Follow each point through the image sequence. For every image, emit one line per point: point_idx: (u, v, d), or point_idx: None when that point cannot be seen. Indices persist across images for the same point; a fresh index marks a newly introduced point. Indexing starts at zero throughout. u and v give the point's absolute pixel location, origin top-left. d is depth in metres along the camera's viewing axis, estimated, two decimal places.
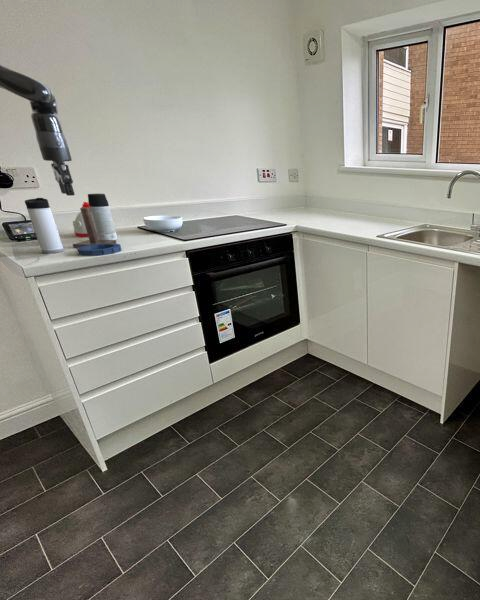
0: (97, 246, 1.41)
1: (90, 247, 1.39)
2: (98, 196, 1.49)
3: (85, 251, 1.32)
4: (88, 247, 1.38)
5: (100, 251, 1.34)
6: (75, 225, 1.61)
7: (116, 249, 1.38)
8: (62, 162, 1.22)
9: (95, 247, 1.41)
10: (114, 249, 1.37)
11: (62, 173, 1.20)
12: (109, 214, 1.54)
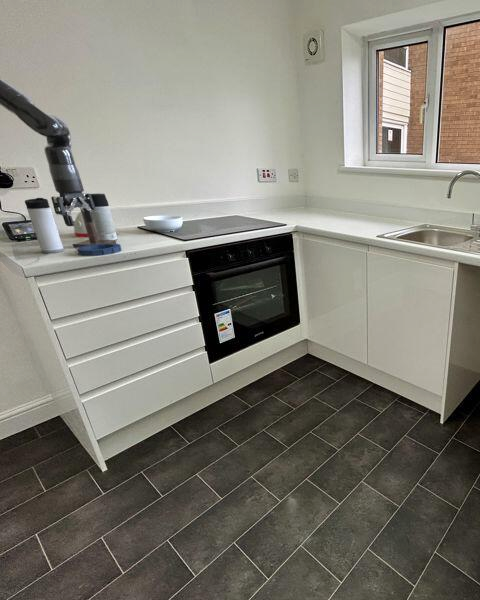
0: (97, 246, 1.41)
1: (90, 247, 1.39)
2: (98, 196, 1.49)
3: (85, 251, 1.32)
4: (88, 247, 1.38)
5: (100, 251, 1.34)
6: (75, 225, 1.61)
7: (116, 249, 1.38)
8: (63, 194, 1.22)
9: (95, 247, 1.41)
10: (114, 249, 1.37)
11: (54, 205, 1.20)
12: (109, 214, 1.54)
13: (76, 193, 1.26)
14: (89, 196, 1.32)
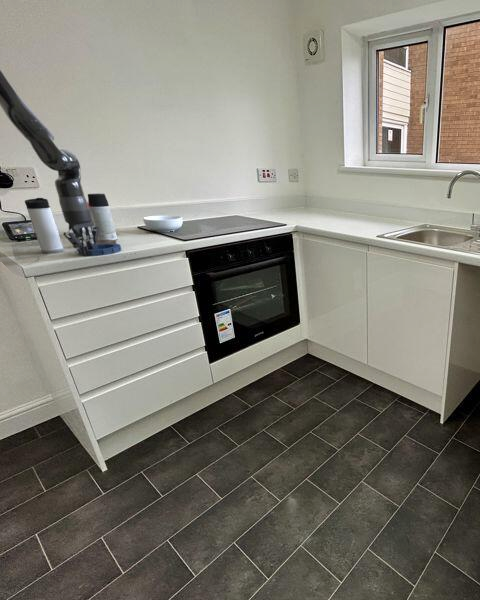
0: (97, 246, 1.41)
1: None
2: (98, 196, 1.49)
3: None
4: None
5: (100, 251, 1.34)
6: None
7: (116, 249, 1.38)
8: (72, 224, 1.26)
9: (95, 247, 1.41)
10: (114, 249, 1.37)
11: (69, 239, 1.26)
12: (109, 214, 1.54)
13: (85, 223, 1.30)
14: (97, 229, 1.35)
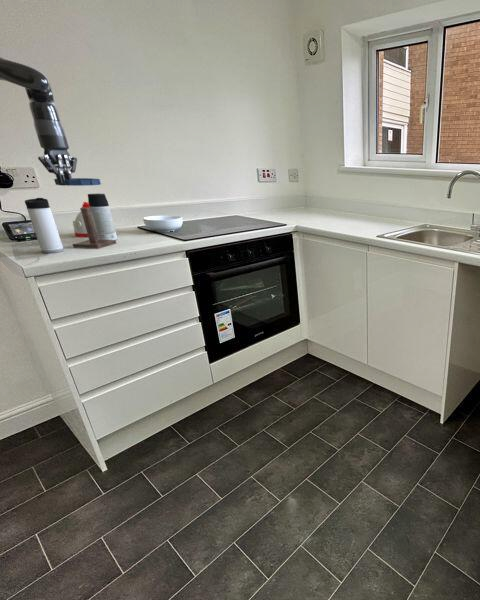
0: None
1: None
2: (98, 196, 1.49)
3: None
4: None
5: (77, 181, 1.31)
6: (75, 225, 1.61)
7: (94, 181, 1.36)
8: (47, 149, 1.23)
9: None
10: (92, 181, 1.35)
11: (44, 165, 1.24)
12: (109, 214, 1.54)
13: (61, 150, 1.28)
14: (74, 159, 1.33)
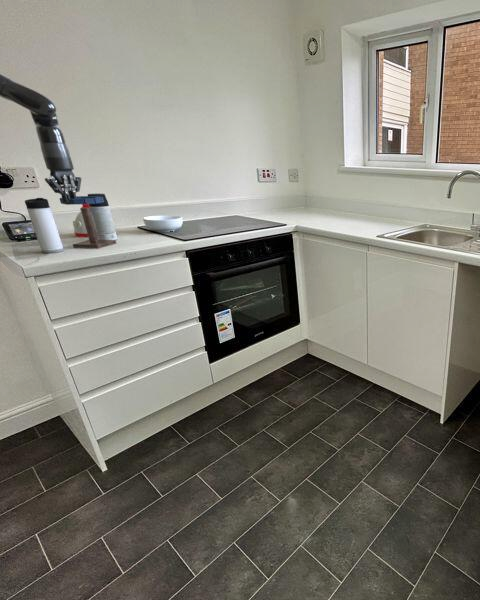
0: (80, 198, 1.44)
1: None
2: None
3: None
4: None
5: (82, 200, 1.36)
6: (75, 225, 1.61)
7: (98, 200, 1.41)
8: (53, 171, 1.28)
9: (78, 199, 1.43)
10: (96, 199, 1.40)
11: (50, 186, 1.29)
12: (109, 214, 1.54)
13: (66, 171, 1.33)
14: (79, 179, 1.38)
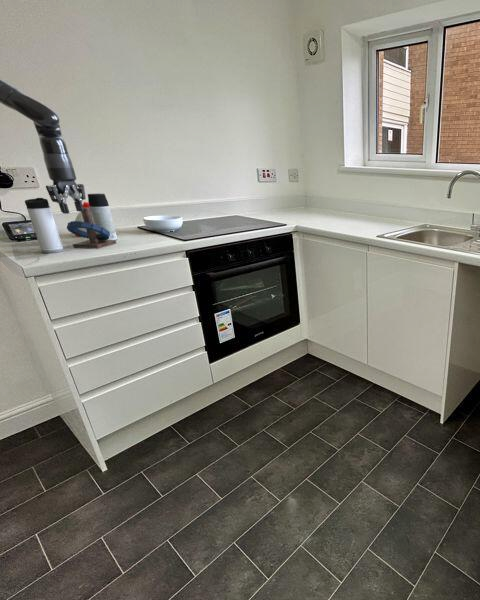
0: (86, 234, 1.47)
1: (80, 231, 1.45)
2: (98, 196, 1.49)
3: (75, 222, 1.38)
4: (78, 229, 1.44)
5: (90, 224, 1.40)
6: None
7: (105, 230, 1.45)
8: (56, 181, 1.30)
9: (84, 233, 1.46)
10: (103, 229, 1.44)
11: (49, 194, 1.29)
12: (109, 214, 1.54)
13: (69, 181, 1.34)
14: (82, 186, 1.39)
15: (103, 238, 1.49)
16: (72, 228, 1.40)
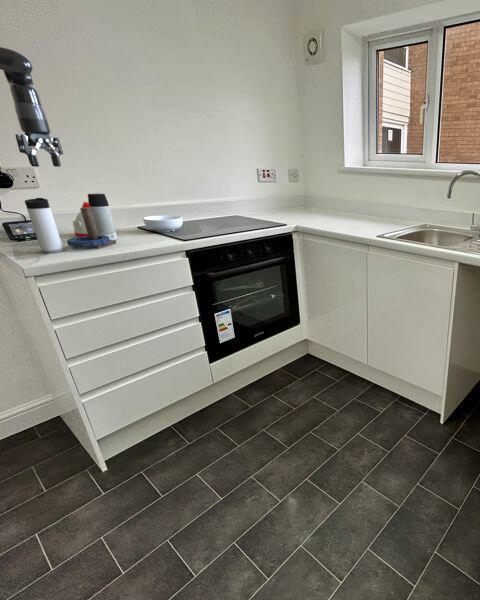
0: (86, 238, 1.47)
1: (79, 239, 1.45)
2: (98, 196, 1.49)
3: (75, 242, 1.38)
4: (77, 239, 1.44)
5: (90, 242, 1.40)
6: (75, 225, 1.61)
7: (105, 240, 1.44)
8: (28, 133, 1.23)
9: (84, 239, 1.46)
10: (103, 241, 1.44)
11: (18, 143, 1.21)
12: (109, 214, 1.54)
13: (43, 134, 1.28)
14: (57, 140, 1.33)
15: None
16: None
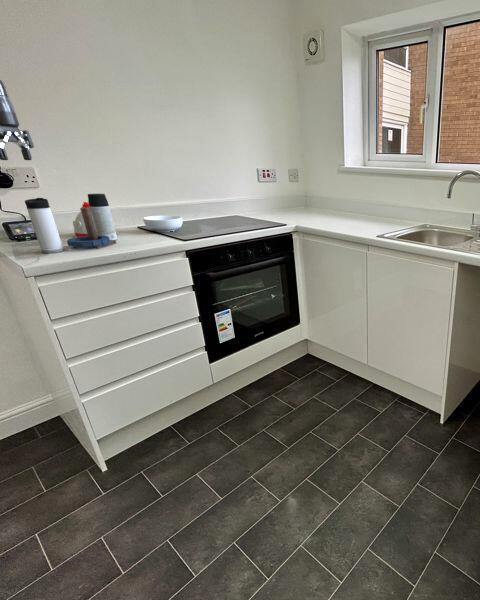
0: (86, 238, 1.47)
1: (79, 239, 1.45)
2: (98, 196, 1.49)
3: (75, 242, 1.38)
4: (77, 239, 1.44)
5: (90, 242, 1.40)
6: (75, 225, 1.61)
7: (105, 240, 1.44)
8: None
9: (84, 239, 1.46)
10: (103, 241, 1.44)
11: None
12: (109, 214, 1.54)
13: (11, 127, 1.25)
14: (27, 133, 1.30)
15: None
16: None
